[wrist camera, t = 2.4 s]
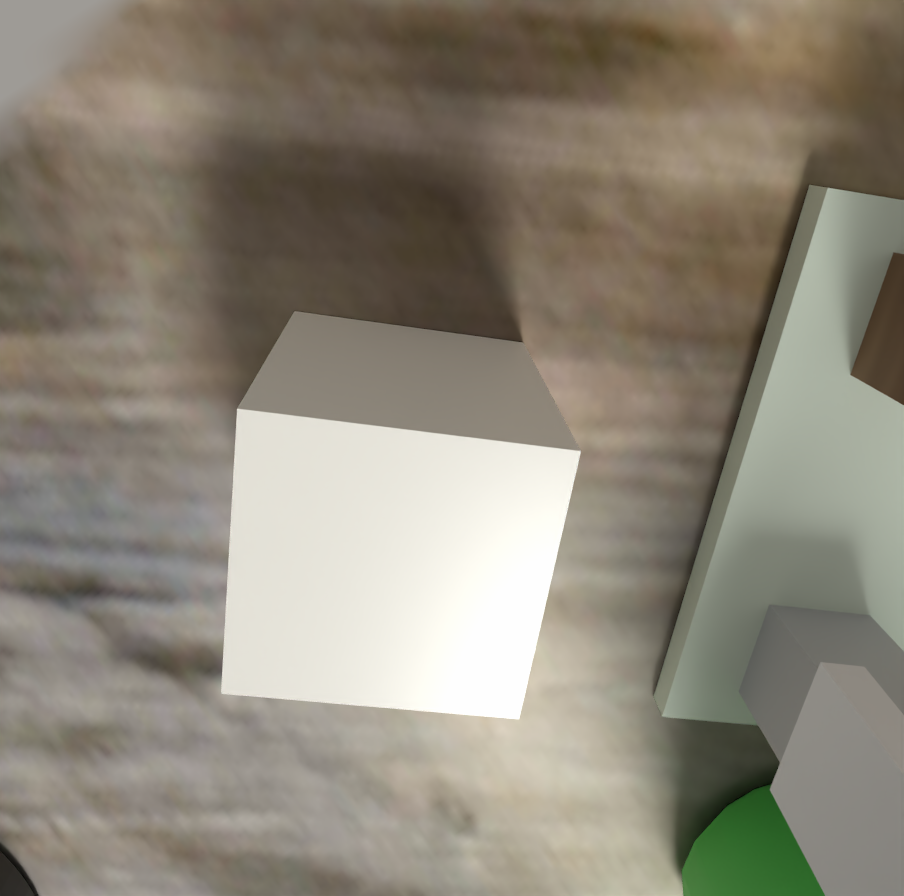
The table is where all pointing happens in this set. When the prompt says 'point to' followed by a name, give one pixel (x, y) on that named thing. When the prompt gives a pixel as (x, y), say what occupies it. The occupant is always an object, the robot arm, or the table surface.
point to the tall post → (885, 337)
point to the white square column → (393, 519)
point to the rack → (803, 497)
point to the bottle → (749, 854)
